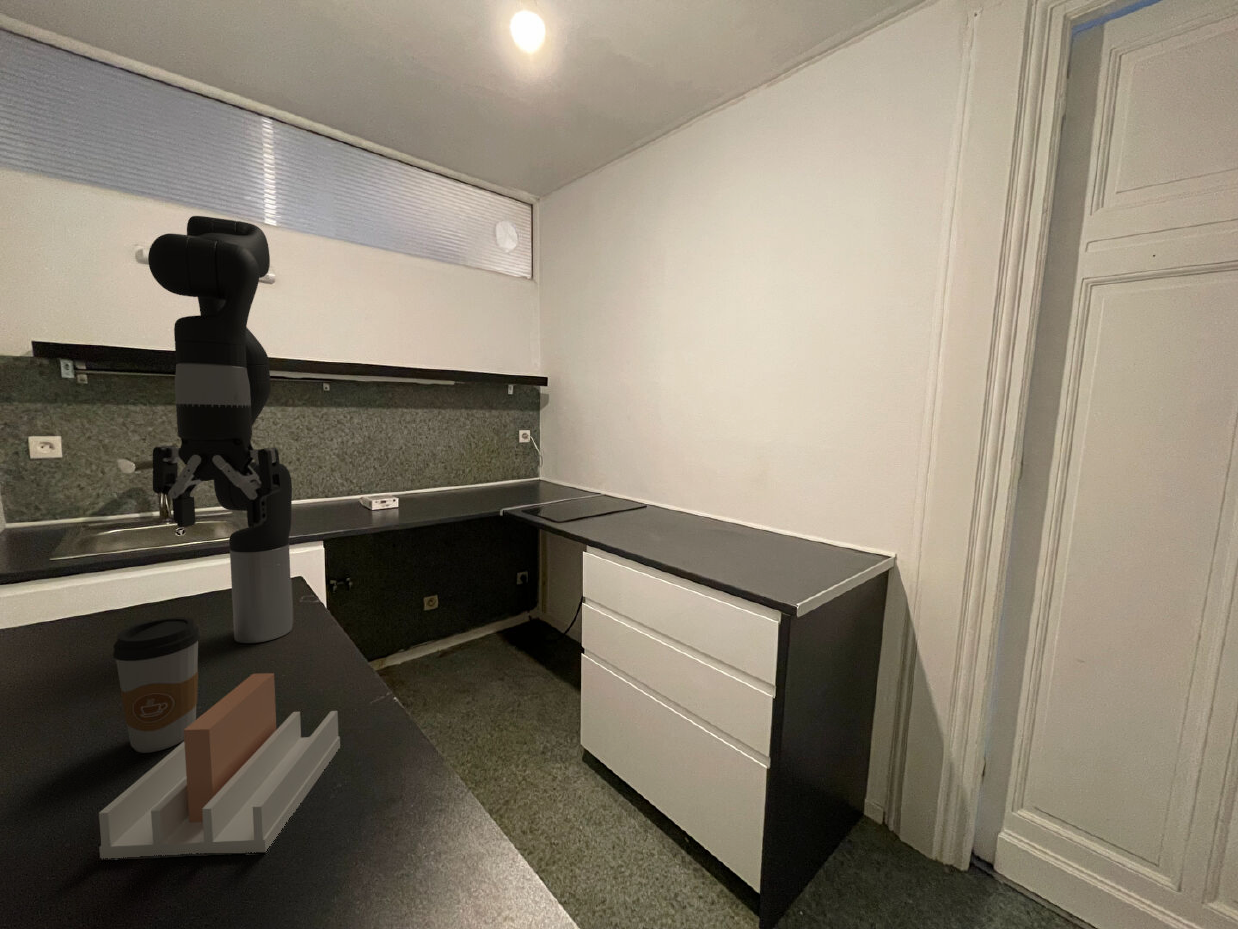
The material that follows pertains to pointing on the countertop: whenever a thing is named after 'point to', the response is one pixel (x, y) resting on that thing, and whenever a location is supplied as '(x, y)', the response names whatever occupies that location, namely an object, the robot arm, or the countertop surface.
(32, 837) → the countertop surface
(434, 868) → the countertop surface
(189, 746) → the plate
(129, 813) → the dish rack
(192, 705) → the coffee cup
